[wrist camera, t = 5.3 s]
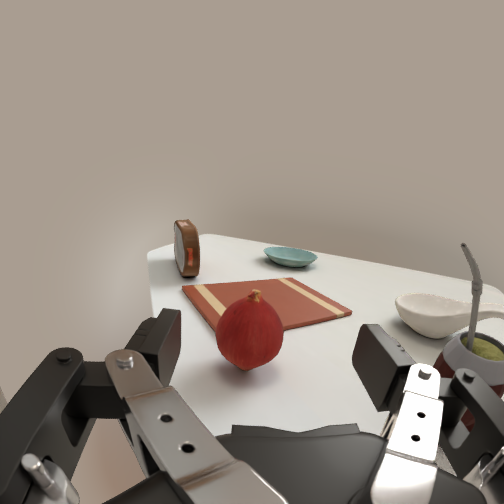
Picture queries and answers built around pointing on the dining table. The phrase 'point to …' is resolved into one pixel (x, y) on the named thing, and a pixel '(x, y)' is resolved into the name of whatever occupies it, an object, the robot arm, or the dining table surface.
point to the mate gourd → (473, 348)
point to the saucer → (290, 256)
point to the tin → (187, 248)
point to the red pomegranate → (249, 332)
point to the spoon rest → (441, 313)
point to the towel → (275, 293)
